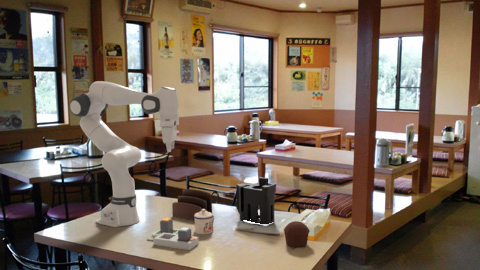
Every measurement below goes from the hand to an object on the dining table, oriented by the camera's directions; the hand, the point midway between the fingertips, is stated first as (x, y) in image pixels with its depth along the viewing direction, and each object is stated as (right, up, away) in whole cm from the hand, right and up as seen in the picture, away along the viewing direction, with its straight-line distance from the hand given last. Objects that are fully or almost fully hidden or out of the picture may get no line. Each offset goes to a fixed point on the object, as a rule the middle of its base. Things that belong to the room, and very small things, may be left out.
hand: (170, 150), depth 207 cm
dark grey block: (+9, -41, -18) cm, 46 cm away
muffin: (+58, -41, -16) cm, 73 cm away
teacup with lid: (+17, -40, +2) cm, 43 cm away
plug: (-1, -40, -3) cm, 40 cm away
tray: (-1, -40, -3) cm, 40 cm away
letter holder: (+7, -37, +26) cm, 46 cm away
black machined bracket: (+42, -37, +17) cm, 59 cm away
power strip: (+2, -42, -15) cm, 44 cm away
